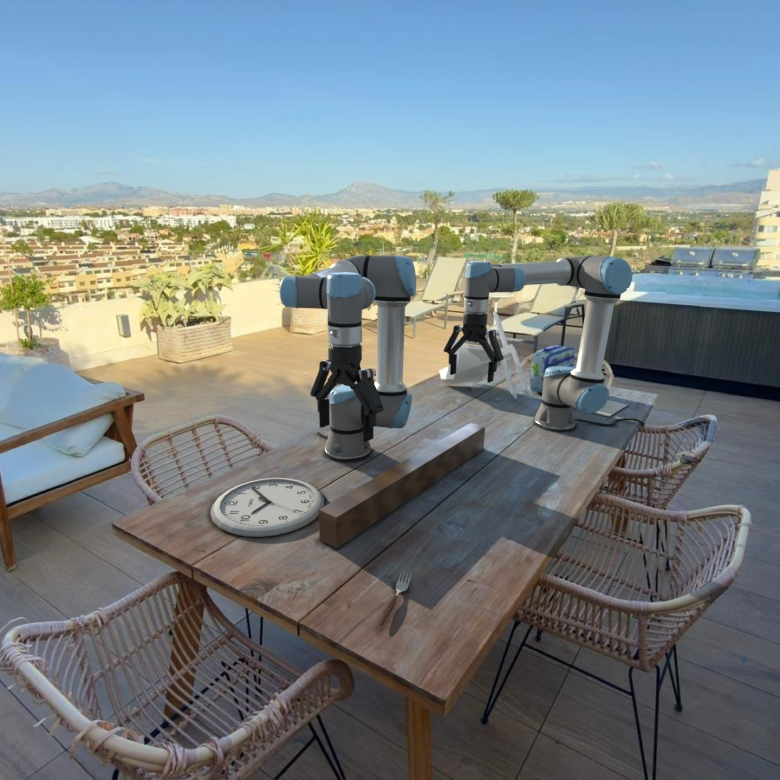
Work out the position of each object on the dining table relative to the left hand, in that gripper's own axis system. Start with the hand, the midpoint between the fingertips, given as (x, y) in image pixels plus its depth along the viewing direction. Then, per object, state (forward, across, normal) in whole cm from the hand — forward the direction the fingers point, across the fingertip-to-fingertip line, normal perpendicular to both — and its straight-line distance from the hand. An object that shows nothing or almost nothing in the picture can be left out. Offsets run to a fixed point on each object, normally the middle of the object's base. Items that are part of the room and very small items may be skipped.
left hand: (345, 432), depth 122 cm
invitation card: (+27, +22, +141) cm, 145 cm away
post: (+27, 0, +31) cm, 41 cm away
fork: (+27, +24, -13) cm, 38 cm away
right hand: (0, 0, +61) cm, 61 cm away
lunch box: (+27, -4, +150) cm, 153 cm away
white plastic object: (+27, -29, +126) cm, 132 cm away
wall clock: (+27, -25, -4) cm, 37 cm away
